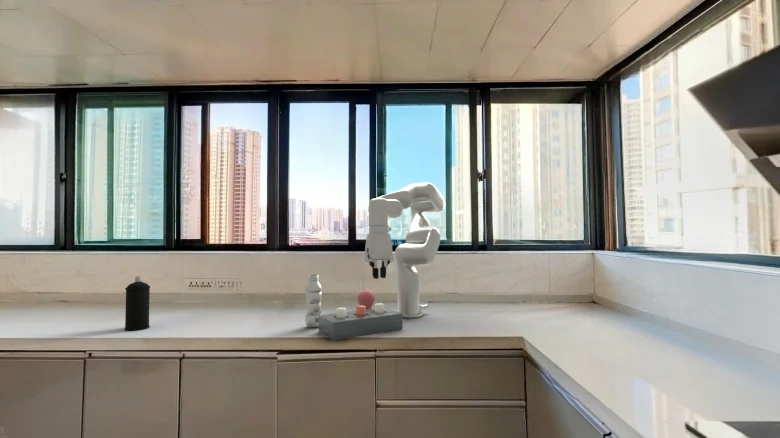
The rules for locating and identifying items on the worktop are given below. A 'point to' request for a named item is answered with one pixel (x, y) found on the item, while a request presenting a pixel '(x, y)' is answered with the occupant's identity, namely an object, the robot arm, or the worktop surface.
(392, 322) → the panel
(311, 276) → the plastic bottle
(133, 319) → the aerosol can
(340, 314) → the cream plug
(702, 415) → the worktop surface
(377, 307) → the cream plug
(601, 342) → the worktop surface
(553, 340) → the worktop surface
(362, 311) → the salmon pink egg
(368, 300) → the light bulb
